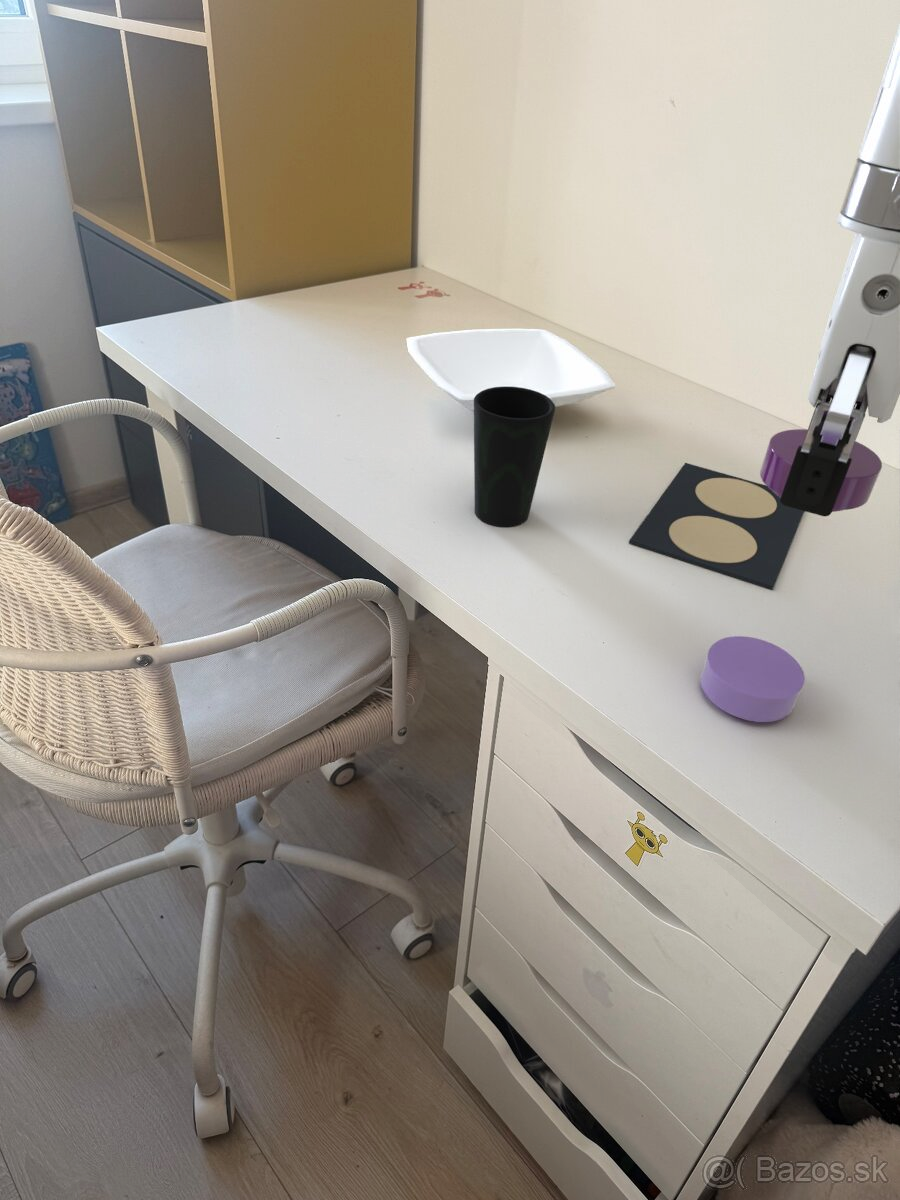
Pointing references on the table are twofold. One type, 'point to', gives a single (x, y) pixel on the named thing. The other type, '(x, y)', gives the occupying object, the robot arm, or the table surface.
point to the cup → (508, 452)
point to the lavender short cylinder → (751, 678)
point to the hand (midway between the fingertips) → (814, 482)
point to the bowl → (508, 364)
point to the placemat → (721, 525)
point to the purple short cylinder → (863, 459)
